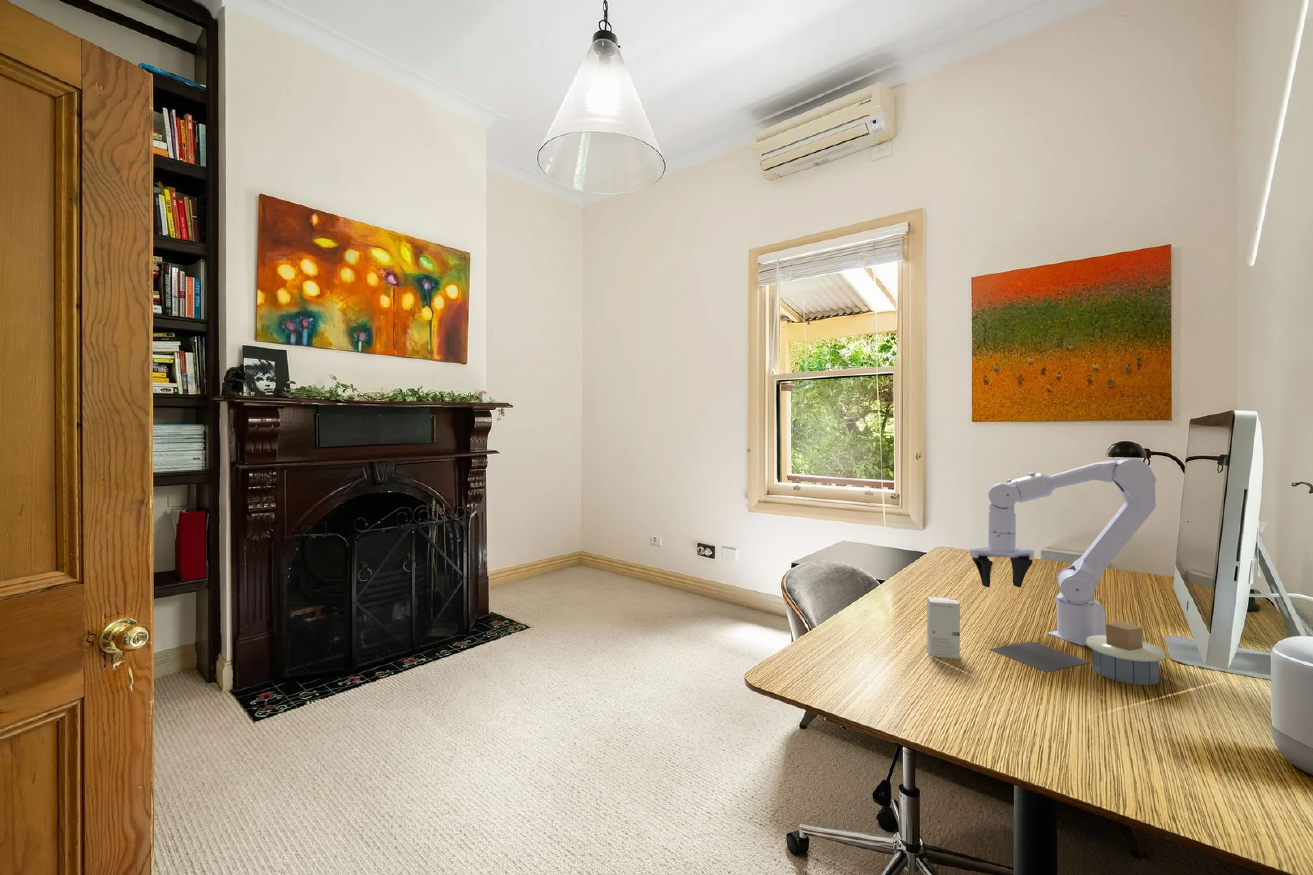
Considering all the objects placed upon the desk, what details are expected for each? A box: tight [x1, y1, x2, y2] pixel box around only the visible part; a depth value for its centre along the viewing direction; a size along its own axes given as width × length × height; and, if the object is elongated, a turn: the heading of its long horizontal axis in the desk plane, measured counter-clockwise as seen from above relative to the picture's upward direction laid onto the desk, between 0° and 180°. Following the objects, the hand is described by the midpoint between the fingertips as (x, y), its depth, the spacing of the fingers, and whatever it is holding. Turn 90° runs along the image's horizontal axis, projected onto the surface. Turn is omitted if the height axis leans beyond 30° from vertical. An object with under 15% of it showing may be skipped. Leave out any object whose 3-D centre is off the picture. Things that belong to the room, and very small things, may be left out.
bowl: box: [1091, 649, 1160, 686], centre depth 111 cm, size 10×10×5 cm
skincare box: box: [926, 596, 961, 660], centre depth 122 cm, size 6×4×12 cm
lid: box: [1086, 620, 1166, 662], centre depth 111 cm, size 12×12×5 cm
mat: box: [988, 640, 1092, 673], centre depth 120 cm, size 13×13×1 cm
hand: (1001, 586), depth 138 cm, fingers open, 7 cm apart
